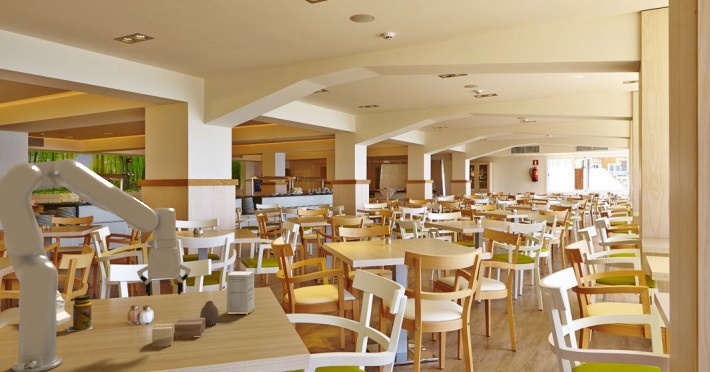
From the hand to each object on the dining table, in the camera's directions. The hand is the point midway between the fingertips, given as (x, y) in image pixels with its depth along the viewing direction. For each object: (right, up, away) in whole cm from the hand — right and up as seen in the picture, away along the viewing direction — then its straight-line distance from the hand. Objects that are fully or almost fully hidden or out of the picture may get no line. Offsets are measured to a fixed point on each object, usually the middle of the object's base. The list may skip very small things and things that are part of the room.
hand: (164, 294), depth 177 cm
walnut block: (+5, -17, +11) cm, 21 cm away
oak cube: (0, -17, 0) cm, 17 cm away
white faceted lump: (-55, -17, +26) cm, 63 cm away
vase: (+8, -17, +25) cm, 31 cm away
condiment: (-38, -17, +18) cm, 45 cm away
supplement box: (+16, -17, +44) cm, 50 cm away
